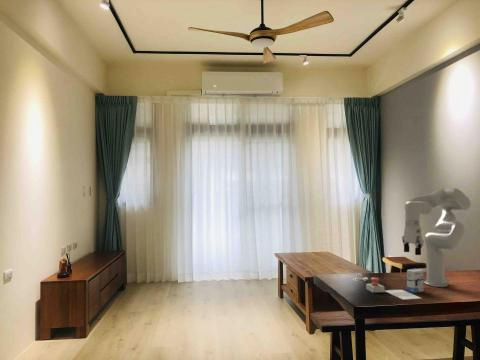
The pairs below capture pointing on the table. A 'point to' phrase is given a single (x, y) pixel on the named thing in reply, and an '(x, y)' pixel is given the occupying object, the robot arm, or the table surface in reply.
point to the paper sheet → (402, 294)
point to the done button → (374, 281)
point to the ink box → (415, 280)
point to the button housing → (375, 288)
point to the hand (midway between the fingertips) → (412, 253)
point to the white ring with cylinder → (360, 277)
